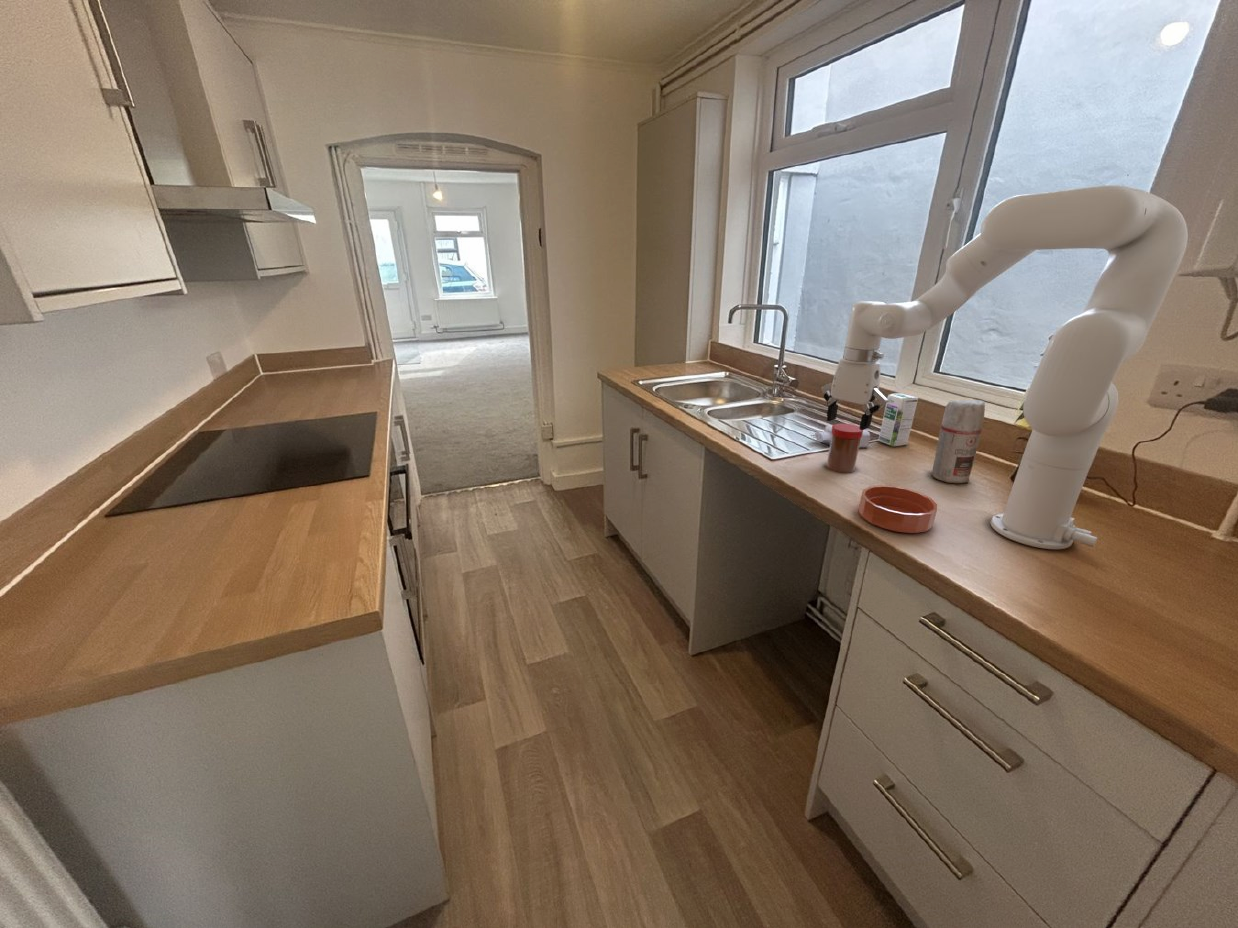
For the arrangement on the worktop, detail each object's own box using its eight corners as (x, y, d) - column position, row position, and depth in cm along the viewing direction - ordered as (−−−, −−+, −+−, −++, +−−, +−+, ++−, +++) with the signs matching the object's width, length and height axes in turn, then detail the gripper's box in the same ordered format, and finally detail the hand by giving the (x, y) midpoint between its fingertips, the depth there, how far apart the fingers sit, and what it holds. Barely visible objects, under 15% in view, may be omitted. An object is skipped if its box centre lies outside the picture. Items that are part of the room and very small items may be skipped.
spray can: (933, 482, 118) (954, 402, 110) (925, 469, 125) (944, 394, 117) (973, 486, 115) (997, 405, 108) (963, 473, 122) (985, 397, 115)
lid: (867, 435, 122) (869, 428, 122) (852, 441, 118) (854, 434, 118) (840, 428, 128) (842, 421, 127) (825, 433, 124) (826, 426, 123)
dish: (943, 521, 100) (949, 502, 98) (912, 542, 92) (918, 521, 90) (878, 498, 110) (882, 480, 108) (845, 515, 102) (849, 496, 101)
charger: (804, 439, 148) (852, 438, 148) (817, 449, 139) (868, 448, 140) (806, 424, 146) (855, 423, 146) (819, 434, 137) (871, 433, 138)
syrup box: (877, 440, 146) (886, 394, 140) (892, 438, 147) (902, 392, 142) (892, 447, 141) (903, 398, 135) (908, 444, 142) (919, 397, 137)
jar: (859, 468, 126) (867, 430, 122) (845, 474, 122) (852, 435, 118) (835, 460, 131) (842, 423, 127) (821, 466, 127) (827, 428, 123)
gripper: (905, 359, 111) (888, 430, 118) (835, 349, 124) (824, 413, 131) (889, 362, 107) (873, 436, 114) (818, 351, 120) (808, 418, 127)
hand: (847, 424), depth 122 cm, fingers open, 8 cm apart
